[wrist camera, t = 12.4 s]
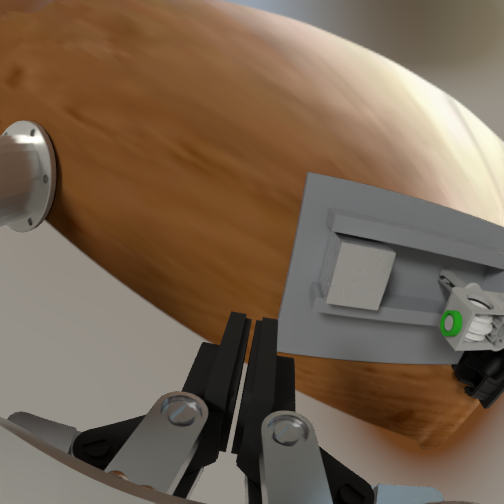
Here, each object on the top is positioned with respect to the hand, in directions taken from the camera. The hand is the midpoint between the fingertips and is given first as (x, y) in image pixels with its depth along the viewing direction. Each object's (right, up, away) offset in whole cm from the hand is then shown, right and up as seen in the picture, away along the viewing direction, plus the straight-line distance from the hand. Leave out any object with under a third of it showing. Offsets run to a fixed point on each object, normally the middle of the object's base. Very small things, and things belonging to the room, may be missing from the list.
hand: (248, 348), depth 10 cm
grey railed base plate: (+14, 0, +14) cm, 20 cm away
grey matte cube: (+8, +3, +12) cm, 15 cm away
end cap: (+29, -8, +16) cm, 34 cm away
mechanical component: (+18, +1, +12) cm, 21 cm away
